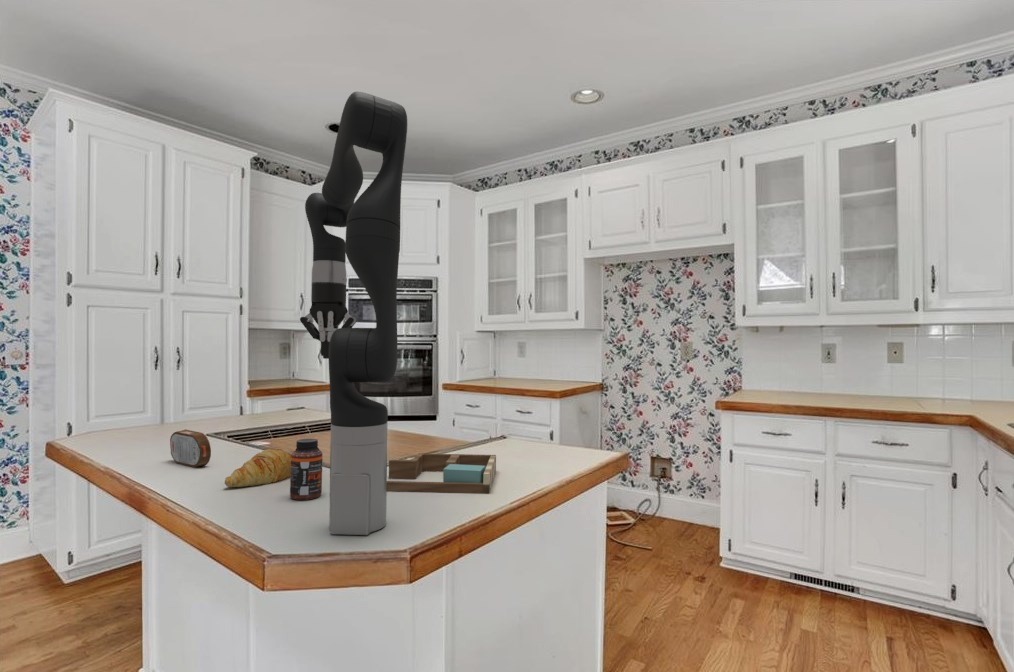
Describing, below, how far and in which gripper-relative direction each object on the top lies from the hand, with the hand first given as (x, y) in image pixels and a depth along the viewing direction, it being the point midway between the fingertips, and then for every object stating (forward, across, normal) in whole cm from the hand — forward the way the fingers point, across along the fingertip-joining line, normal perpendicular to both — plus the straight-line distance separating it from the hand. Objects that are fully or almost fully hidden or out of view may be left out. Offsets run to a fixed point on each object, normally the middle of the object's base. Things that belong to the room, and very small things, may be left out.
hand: (328, 358), depth 121 cm
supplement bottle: (+27, +2, -14) cm, 31 cm away
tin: (+28, -40, +10) cm, 49 cm away
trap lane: (+27, +26, +1) cm, 38 cm away
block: (+27, +32, -5) cm, 43 cm away
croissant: (+28, -13, -2) cm, 31 cm away
